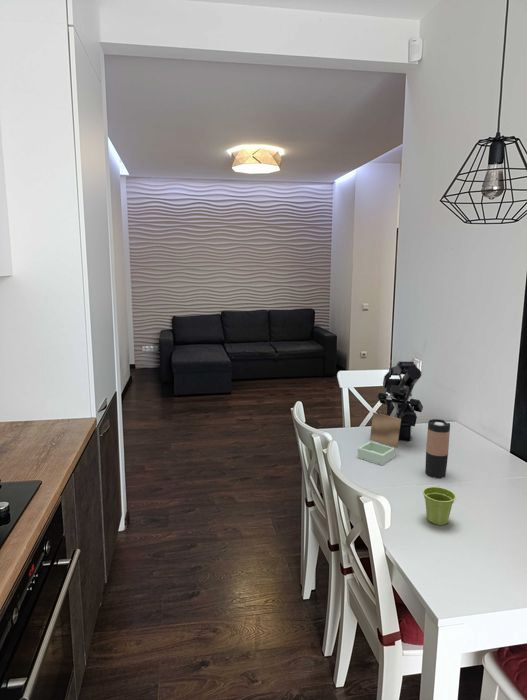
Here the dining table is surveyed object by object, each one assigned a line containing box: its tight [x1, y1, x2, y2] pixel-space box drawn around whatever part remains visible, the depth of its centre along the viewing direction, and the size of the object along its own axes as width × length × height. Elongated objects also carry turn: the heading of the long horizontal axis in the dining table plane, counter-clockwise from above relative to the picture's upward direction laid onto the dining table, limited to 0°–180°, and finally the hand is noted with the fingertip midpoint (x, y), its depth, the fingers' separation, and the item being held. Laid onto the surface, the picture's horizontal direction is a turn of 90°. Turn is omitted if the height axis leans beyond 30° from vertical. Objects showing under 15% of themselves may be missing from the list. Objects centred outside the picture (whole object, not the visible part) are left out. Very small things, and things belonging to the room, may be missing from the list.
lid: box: [369, 412, 401, 449], centre depth 191 cm, size 12×12×1 cm
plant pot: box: [422, 486, 457, 526], centre depth 143 cm, size 9×9×9 cm
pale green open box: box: [357, 440, 396, 466], centre depth 188 cm, size 10×11×4 cm
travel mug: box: [424, 418, 451, 479], centre depth 172 cm, size 8×8×20 cm
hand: (392, 418), depth 195 cm, fingers open, 4 cm apart
